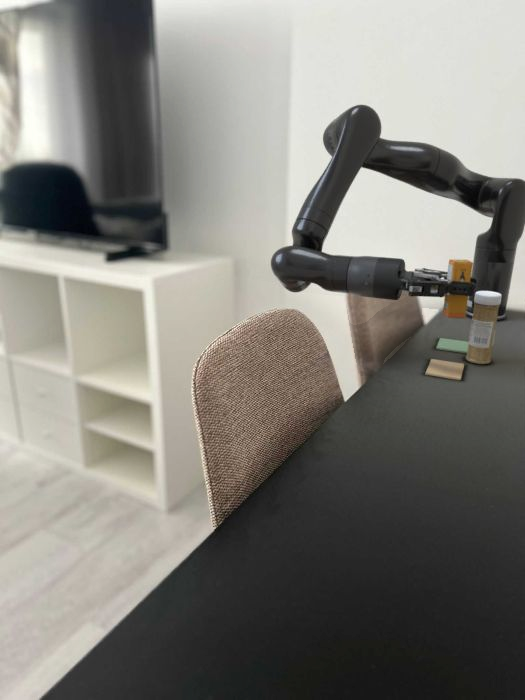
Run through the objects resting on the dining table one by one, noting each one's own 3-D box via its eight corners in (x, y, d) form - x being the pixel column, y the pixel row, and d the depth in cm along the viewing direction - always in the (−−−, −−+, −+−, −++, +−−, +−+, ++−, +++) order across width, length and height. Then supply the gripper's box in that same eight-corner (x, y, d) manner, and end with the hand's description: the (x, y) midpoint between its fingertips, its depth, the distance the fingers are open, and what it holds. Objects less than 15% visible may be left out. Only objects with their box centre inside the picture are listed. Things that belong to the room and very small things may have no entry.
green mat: (439, 339, 111) (440, 337, 111) (469, 343, 109) (469, 341, 109) (436, 349, 105) (436, 347, 105) (467, 353, 103) (467, 351, 103)
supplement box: (460, 314, 92) (468, 258, 89) (465, 319, 89) (474, 262, 86) (441, 313, 93) (449, 257, 89) (445, 318, 89) (453, 261, 86)
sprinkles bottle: (494, 361, 99) (506, 293, 95) (484, 366, 96) (495, 296, 92) (471, 355, 102) (481, 288, 98) (460, 360, 99) (471, 292, 95)
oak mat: (431, 360, 99) (431, 358, 99) (464, 365, 96) (464, 363, 96) (425, 374, 92) (425, 372, 92) (460, 380, 90) (461, 378, 89)
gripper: (368, 263, 87) (476, 272, 80) (385, 251, 99) (480, 258, 93) (364, 306, 90) (469, 318, 83) (382, 289, 102) (474, 299, 95)
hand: (474, 286), depth 88 cm, fingers closed on supplement box, 3 cm apart
